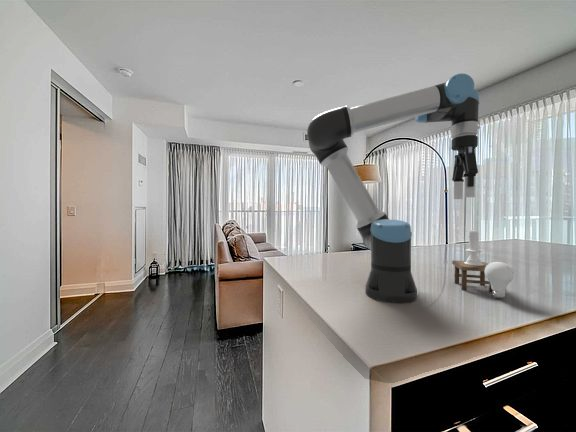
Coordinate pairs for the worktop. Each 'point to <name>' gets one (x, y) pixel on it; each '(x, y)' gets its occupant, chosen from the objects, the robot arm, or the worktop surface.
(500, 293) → the light bulb
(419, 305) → the worktop surface
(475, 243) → the candle
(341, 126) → the robot arm
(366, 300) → the worktop surface
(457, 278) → the small wooden table
